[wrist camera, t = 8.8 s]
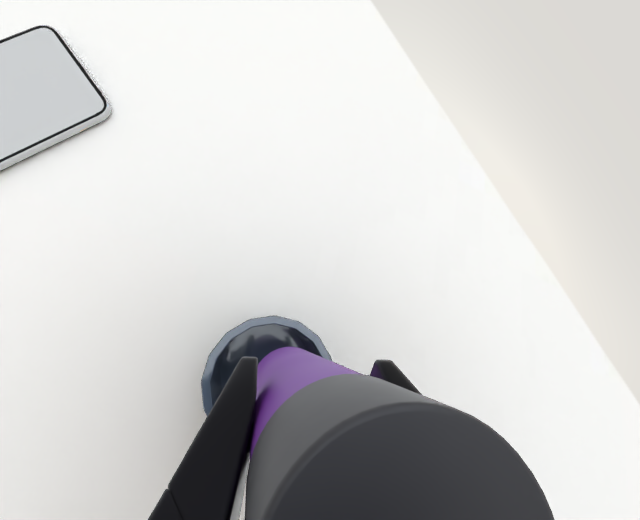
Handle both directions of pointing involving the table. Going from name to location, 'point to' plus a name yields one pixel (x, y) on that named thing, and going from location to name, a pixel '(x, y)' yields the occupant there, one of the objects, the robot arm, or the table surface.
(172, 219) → the table surface
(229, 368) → the pen holder
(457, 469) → the glue stick
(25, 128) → the smartphone
